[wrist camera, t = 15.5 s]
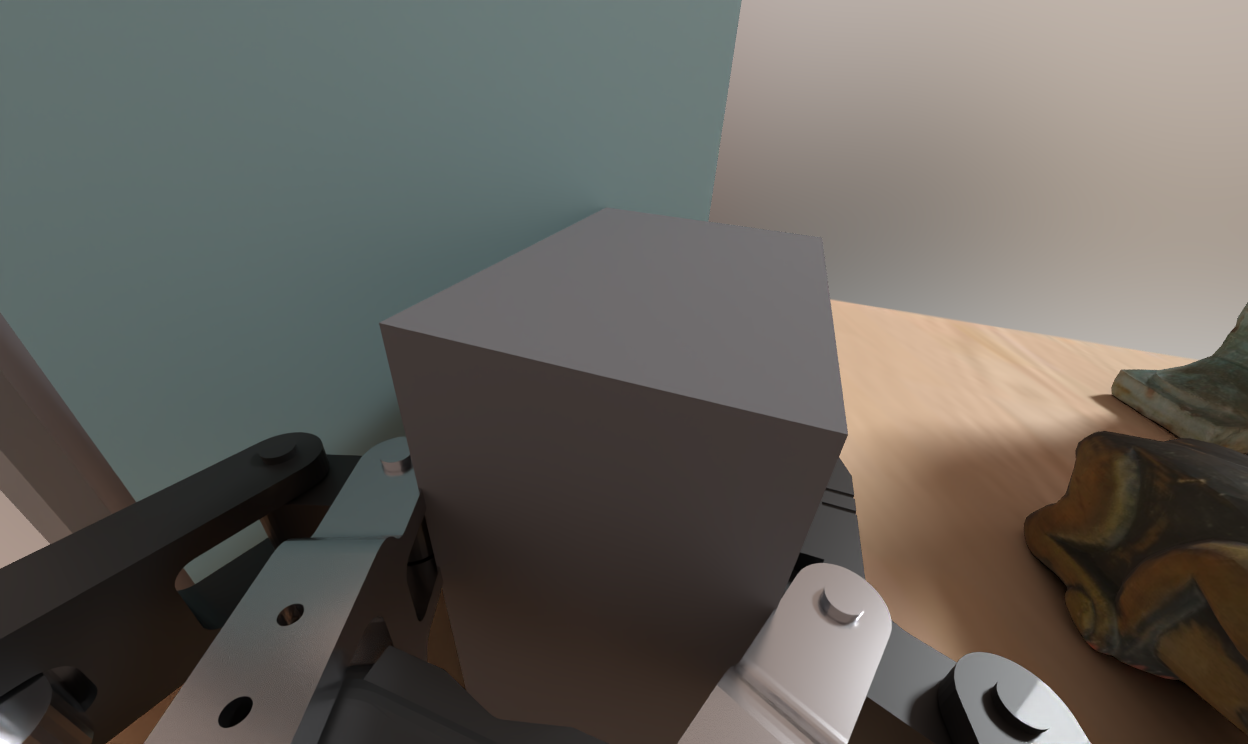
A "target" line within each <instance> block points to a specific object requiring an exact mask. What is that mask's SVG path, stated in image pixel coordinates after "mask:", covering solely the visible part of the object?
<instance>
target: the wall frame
mask: <svg viewBox="0 0 1248 744" xmlns="http://www.w3.org/2000/svg"><path fill="white" fill-rule="evenodd" d="M0 490H1V491H2V492H3V493H4V494H5V495H6V497H7V498H8V499H9V500H10V501H11V502H12V503H13V504H14V505H15V506H16V507H17V509H19V511H20V512H21V513H22V514H23V515H24V516H25V517H26V518H27V519H28V520H29V521H30V523H31V524H32V525H33V526H34V527H35V528H36V529H37V530H38V531H39V532H40V533H41V534H42V536H43V537H44V538H45V539H46V540H47V541H48V542H49V543H50V544H52V543H54V542H56V541H58V540H60V539H62V538H64V537H66V536H68V535H71V534H73V533H75V532H77V531H79V530H81V529H83V528H85V527H87V526H89V525H91V524H93V523H95V522H97V521H99V520H101V519H103V518H105V517H107V516H109V515H111V513H110V511H109V510H108V509H107V508H106V506H105V505H104V504H103V502H102V501H101V500H100V499H99V497H98V496H97V495H96V493H95V492H94V491H93V489H92V488H91V487H90V486H89V484H88V483H87V482H86V480H85V479H84V478H83V477H82V475H81V474H80V473H79V471H78V470H77V469H76V467H75V466H74V465H73V464H72V462H71V461H70V460H69V458H68V457H67V456H66V455H65V453H64V452H63V451H62V449H61V448H60V447H59V445H58V444H57V443H56V442H55V440H54V439H53V438H52V436H51V435H50V434H49V433H48V431H47V430H46V429H45V427H44V426H43V425H42V423H41V422H40V421H39V420H38V418H37V417H36V416H35V414H34V413H33V412H32V411H31V409H30V408H29V407H28V405H27V404H26V403H25V401H24V400H23V399H22V398H21V396H20V395H19V394H18V392H17V391H16V390H15V389H14V387H13V386H12V385H11V383H10V382H9V381H8V379H7V378H6V377H5V376H4V374H3V373H2V372H1V370H0Z"/></svg>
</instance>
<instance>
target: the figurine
mask: <svg viewBox="0 0 1248 744" xmlns="http://www.w3.org/2000/svg"><path fill="white" fill-rule="evenodd" d="M1111 388H1112V395H1114V396H1115V397H1117V398H1118V399H1119V400H1121V401H1123V402H1124V403H1126V404H1127V405H1129V406H1130V407H1132V408H1133V409H1135V410H1137V411H1138V412H1139V413H1141V414H1142V415H1143V416H1145V417H1147V418H1149V419H1151V420H1153V421H1155V422H1156V423H1158V424H1160V425H1161V426H1163V427H1165V428H1166V429H1168V430H1169V431H1171V432H1172V433H1174V434H1175V435H1177V436H1178V437H1180V438H1191V439H1195V440H1200V441H1205V442H1209V443H1214V444H1217V445H1220V446H1223V447H1226V448H1230V449H1232V450H1235V451H1237V452H1240V453H1242V454H1245V453H1248V303H1247V304H1246V306H1245V307H1244V309H1243V311H1242V312H1241V314H1240V315H1239V317H1238V318H1237V324H1236V327H1235V328H1234V329H1233V330H1232V331H1231V332H1230V334H1229V335H1228V336H1227V338H1226V340H1225V341H1224V342H1223V344H1222V346H1221V347H1220V348H1219V349H1218V350H1217V351H1216V352H1215V353H1214V354H1213V355H1212V356H1210V357H1207V358H1205V359H1202V360H1199V361H1196V362H1193V363H1191V364H1188V365H1185V366H1181V367H1175V368H1169V369H1163V370H1121V371H1120V372H1119V374H1118V375H1117V377H1116V378H1115V380H1114V382H1113V385H1112V387H1111Z"/></svg>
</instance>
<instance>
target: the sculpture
mask: <svg viewBox="0 0 1248 744" xmlns="http://www.w3.org/2000/svg"><path fill="white" fill-rule="evenodd" d="M1024 534H1025V539H1026V543H1027V545H1028V547H1029V548H1030V550H1031V552H1032V554H1033V555H1034V556H1035V557H1037V558H1038V559H1039V560H1040V561H1041V562H1042V563H1043V564H1045V565H1046V566H1047V567H1048V568H1049V569H1050V570H1052V571H1053V572H1054V573H1055V574H1056V575H1057V576H1058V577H1059V578H1060V579H1061V581H1062V582H1063V583H1064V584H1065V585H1066V586H1067V588H1068V589H1067V591H1066V593H1065V603H1066V605H1067V608H1068V610H1069V612H1070V615H1071V617H1072V620H1073V622H1074V623H1075V625H1076V627H1077V628H1078V630H1079V632H1080V633H1081V635H1082V636H1083V638H1084V639H1085V641H1086V642H1087V643H1088V644H1089V645H1090V646H1091V647H1092V648H1093V649H1095V650H1096V651H1098V652H1100V653H1104V654H1107V655H1112V656H1114V657H1115V658H1116V659H1118V660H1119V661H1121V662H1123V663H1125V664H1128V665H1130V666H1132V667H1135V668H1137V669H1140V670H1143V671H1145V672H1148V673H1151V674H1154V675H1156V676H1159V677H1162V678H1166V679H1171V680H1180V681H1182V682H1184V683H1185V684H1187V685H1188V686H1189V687H1190V688H1191V689H1192V690H1194V691H1195V692H1196V693H1197V694H1198V695H1199V696H1201V697H1202V698H1203V699H1204V700H1205V701H1206V702H1208V703H1209V704H1210V705H1211V706H1212V707H1214V708H1215V709H1216V710H1217V711H1218V712H1220V713H1221V714H1222V715H1223V716H1224V717H1226V718H1227V719H1228V720H1229V721H1230V722H1232V723H1233V724H1234V725H1235V726H1236V727H1238V728H1239V729H1240V730H1241V731H1243V732H1244V733H1245V734H1247V735H1248V454H1246V455H1245V454H1242V453H1240V452H1237V451H1235V450H1232V449H1230V448H1226V447H1223V446H1220V445H1217V444H1214V443H1209V442H1205V441H1200V440H1195V439H1191V438H1180V439H1174V440H1169V441H1165V442H1162V441H1156V440H1151V439H1145V438H1140V437H1135V436H1129V435H1124V434H1119V433H1113V432H1107V431H1102V432H1096V433H1093V434H1091V435H1089V436H1088V437H1086V438H1084V439H1083V440H1082V441H1080V442H1079V443H1078V446H1077V448H1076V461H1075V466H1074V470H1073V473H1072V476H1071V479H1070V483H1069V486H1068V489H1067V492H1066V494H1065V495H1064V496H1063V497H1062V498H1061V499H1060V500H1059V501H1058V502H1057V503H1056V504H1050V505H1047V506H1045V507H1043V508H1041V509H1039V510H1037V511H1035V512H1033V513H1031V514H1030V515H1029V516H1028V517H1027V518H1026V521H1025V523H1024Z"/></svg>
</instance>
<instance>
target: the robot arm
mask: <svg viewBox="0 0 1248 744" xmlns="http://www.w3.org/2000/svg"><path fill="white" fill-rule="evenodd" d="M853 497H854V490H853V483H852V476H851V474H850V473H849V471H848V470H847V468H846V467H845V465H844V464H843V462H842V461H841V459H840V458H838V460H837V463H836V465H835V467H834V470H833V472H832V475H831V477H830V480H829V482H828V485H827V487H826V490H825V492H824V495H823V497H822V499H821V502H820V504H819V507H818V509H817V512H816V514H815V517H814V519H813V522H812V524H811V526H810V529H809V531H808V534H807V536H806V539H805V541H804V544H803V546H802V549H801V551H800V553H799V556H798V558H797V561H796V563H795V566H794V568H793V571H792V573H791V576H790V578H789V581H788V583H787V585H786V588H785V590H784V593H783V595H782V598H781V600H780V603H779V605H778V608H777V609H776V608H775V609H774V611H773V612H772V614H771V615H770V617H769V618H768V620H767V621H766V623H765V624H764V626H763V627H762V629H761V630H760V632H759V633H758V635H757V636H756V638H755V639H754V641H753V643H752V644H751V646H750V647H749V649H748V650H747V652H746V653H745V655H744V656H743V658H742V659H741V660H740V662H739V663H738V664H737V665H736V666H735V665H732V666H731V667H730V668H729V669H728V670H727V672H726V673H725V674H724V676H723V677H722V678H721V680H720V681H719V683H718V684H717V685H716V687H715V688H714V690H713V691H712V693H711V694H710V696H709V697H708V699H707V700H706V702H705V703H704V705H703V706H702V708H701V709H700V711H699V712H698V714H697V715H696V717H695V718H694V720H693V721H692V723H691V724H690V726H689V727H688V729H687V730H686V732H685V733H684V734H683V736H682V737H681V739H680V740H679V742H678V743H677V744H1091V743H1090V741H1089V740H1088V738H1087V737H1086V735H1085V733H1084V732H1083V730H1082V728H1081V727H1080V725H1079V723H1078V722H1077V720H1076V719H1075V717H1074V716H1073V714H1072V713H1071V711H1070V710H1069V708H1068V707H1067V706H1066V705H1065V704H1064V702H1063V701H1062V700H1061V699H1060V698H1059V697H1058V696H1057V694H1056V693H1055V692H1054V691H1053V690H1052V689H1051V688H1050V687H1048V686H1047V685H1046V684H1045V683H1044V682H1043V681H1042V680H1040V679H1039V678H1038V677H1036V676H1035V675H1034V674H1032V673H1031V672H1030V671H1028V670H1027V669H1025V668H1023V667H1022V666H1020V665H1019V664H1017V663H1015V662H1013V661H1011V660H1009V659H1006V658H1004V657H1001V656H999V655H995V654H991V653H985V652H973V653H969V654H967V655H964V656H963V657H962V658H960V659H959V661H958V662H955V661H953V660H952V659H950V658H948V657H947V656H945V655H943V654H942V653H940V652H938V651H937V650H935V649H933V648H932V647H930V646H928V645H927V644H925V643H923V642H922V641H920V640H918V639H917V638H915V637H913V636H912V635H910V634H909V633H907V632H906V631H904V630H903V629H902V628H900V627H899V626H898V625H897V624H895V623H894V622H893V621H892V620H891V616H890V613H889V610H888V608H887V606H886V604H885V602H884V600H883V599H882V597H881V596H880V595H879V593H878V592H877V591H876V590H875V589H874V588H873V587H872V586H871V585H870V584H869V583H868V582H867V581H866V580H865V574H864V567H863V559H862V552H861V544H860V536H859V529H858V521H857V515H855V514H856V506H855V499H853ZM426 509H427V508H426V504H425V499H424V495H423V490H422V489H421V488H418V485H417V481H416V477H415V473H414V468H413V464H412V460H411V456H410V452H409V447H408V443H407V439H406V437H397V438H393V439H389V440H386V441H383V442H381V443H379V444H377V445H375V446H374V447H372V448H371V449H369V450H368V451H367V452H366V453H365V454H364V455H363V456H358V455H330V454H326V452H325V449H324V446H323V443H322V441H321V439H320V438H319V437H318V436H316V435H314V434H310V433H305V432H293V433H286V434H281V435H277V436H274V437H271V438H268V439H266V440H263V441H261V442H259V443H257V444H255V445H253V446H251V447H249V448H247V449H245V450H243V451H241V452H238V453H236V454H234V455H232V456H230V457H228V458H226V459H224V460H222V461H220V462H218V463H216V464H214V465H212V466H210V467H208V468H206V469H204V470H202V471H200V472H198V473H195V474H193V475H191V476H189V477H187V478H185V479H183V480H181V481H179V482H177V483H175V484H173V485H171V486H169V487H167V488H165V489H163V490H161V491H159V492H157V493H154V494H152V495H150V496H148V497H146V498H144V499H142V500H140V501H138V502H136V503H134V504H132V505H130V506H128V507H126V508H124V509H122V510H120V511H118V512H116V513H114V514H111V515H109V516H107V517H105V518H103V519H101V520H99V521H97V522H95V523H93V524H91V525H89V526H87V527H85V528H83V529H81V530H79V531H77V532H75V533H73V534H71V535H68V536H66V537H64V538H62V539H60V540H58V541H56V542H54V543H52V544H50V545H48V546H46V547H44V548H42V549H40V550H38V551H36V552H34V553H32V554H30V555H28V556H25V557H24V558H22V559H19V560H17V561H15V562H13V563H11V564H9V565H7V566H5V567H3V568H1V569H0V744H106V743H107V742H108V741H110V740H111V739H112V738H113V737H115V736H116V735H117V734H119V733H120V732H121V731H123V730H124V729H125V728H126V727H128V726H129V725H130V724H132V723H133V722H134V721H136V720H137V719H138V718H140V717H141V716H142V715H143V714H145V713H146V712H147V711H149V710H150V709H151V708H153V707H154V706H155V705H156V704H158V703H159V702H160V701H162V700H163V699H164V698H166V697H167V696H168V695H170V694H171V693H172V692H173V691H175V690H176V689H177V688H179V687H180V686H181V685H183V684H184V685H183V686H182V688H181V689H180V691H179V692H178V694H177V695H176V697H175V698H174V700H173V701H172V703H171V704H170V706H169V707H168V708H167V710H166V711H165V713H164V714H163V716H162V717H161V719H160V720H159V722H158V723H157V725H156V726H155V728H154V729H153V731H152V732H151V733H150V735H149V736H148V738H147V739H146V741H145V742H144V744H609V743H606V742H604V741H602V740H600V739H597V738H595V737H593V736H591V735H588V734H586V733H584V732H582V731H580V730H577V729H575V728H573V727H564V726H555V725H546V724H537V723H528V722H519V721H510V720H502V719H498V718H496V717H494V716H492V715H491V714H490V713H489V712H488V711H487V710H486V709H485V708H484V707H483V706H482V705H480V704H479V703H478V702H477V701H476V700H475V699H474V698H473V697H472V696H471V695H470V694H469V693H468V692H467V691H466V690H465V689H464V688H463V687H462V686H461V685H460V684H459V683H458V682H457V681H456V680H455V679H454V678H452V677H451V676H450V675H449V674H448V673H447V672H446V671H445V670H444V669H441V668H439V667H437V666H435V665H433V664H430V663H428V662H427V647H428V637H429V631H430V627H431V624H432V620H433V617H434V613H435V610H436V606H437V603H438V600H439V596H440V593H441V589H442V586H443V578H442V574H441V569H440V567H439V566H437V565H436V561H435V557H434V553H433V548H432V544H431V540H430V536H429V532H428V527H427V523H426V519H425V515H424V514H425V512H426ZM258 520H260V522H261V524H262V526H263V528H264V530H265V532H266V534H267V536H268V538H266V539H265V540H263V541H262V542H260V543H259V544H257V545H256V546H254V547H252V548H251V549H249V550H248V551H246V552H245V553H243V554H242V555H240V556H238V557H237V558H235V559H234V560H232V561H231V562H229V563H227V564H226V565H224V566H223V567H221V568H220V569H218V570H217V571H215V572H213V573H212V574H210V575H209V576H207V577H206V578H204V579H203V580H201V581H199V582H198V583H196V584H195V585H193V586H191V587H189V588H186V589H183V590H178V591H177V590H176V588H175V580H176V578H177V576H178V574H179V572H180V571H181V570H182V569H183V568H184V567H185V566H186V565H187V564H188V563H189V562H191V561H192V560H194V559H195V558H197V557H198V556H200V555H202V554H203V553H205V552H207V551H208V550H210V549H212V548H213V547H215V546H217V545H218V544H220V543H221V542H223V541H225V540H226V539H228V538H230V537H231V536H233V535H235V534H236V533H238V532H240V531H241V530H243V529H245V528H246V527H248V526H250V525H251V524H253V523H254V522H256V521H258Z"/></svg>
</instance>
